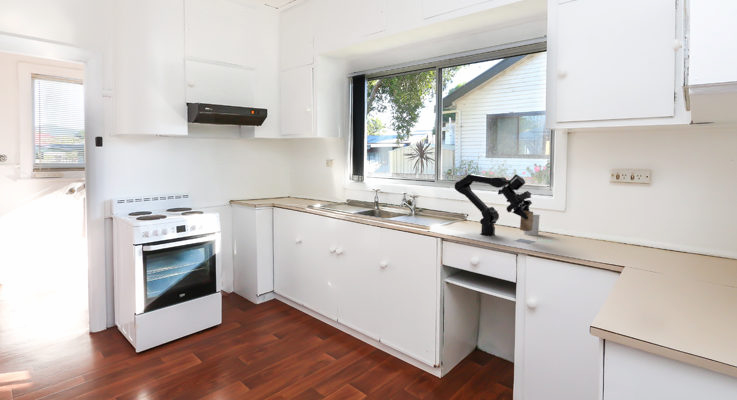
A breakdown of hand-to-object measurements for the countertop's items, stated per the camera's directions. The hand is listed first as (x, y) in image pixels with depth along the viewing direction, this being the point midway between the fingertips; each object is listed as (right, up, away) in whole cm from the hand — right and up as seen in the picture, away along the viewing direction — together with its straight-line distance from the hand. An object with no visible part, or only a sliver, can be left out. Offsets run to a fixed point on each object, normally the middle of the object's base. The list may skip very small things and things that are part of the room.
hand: (529, 218), depth 215 cm
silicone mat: (-1, -12, +3) cm, 13 cm away
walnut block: (-1, -6, +2) cm, 7 cm away
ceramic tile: (+10, -12, +5) cm, 17 cm away
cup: (+10, -10, +23) cm, 27 cm away
